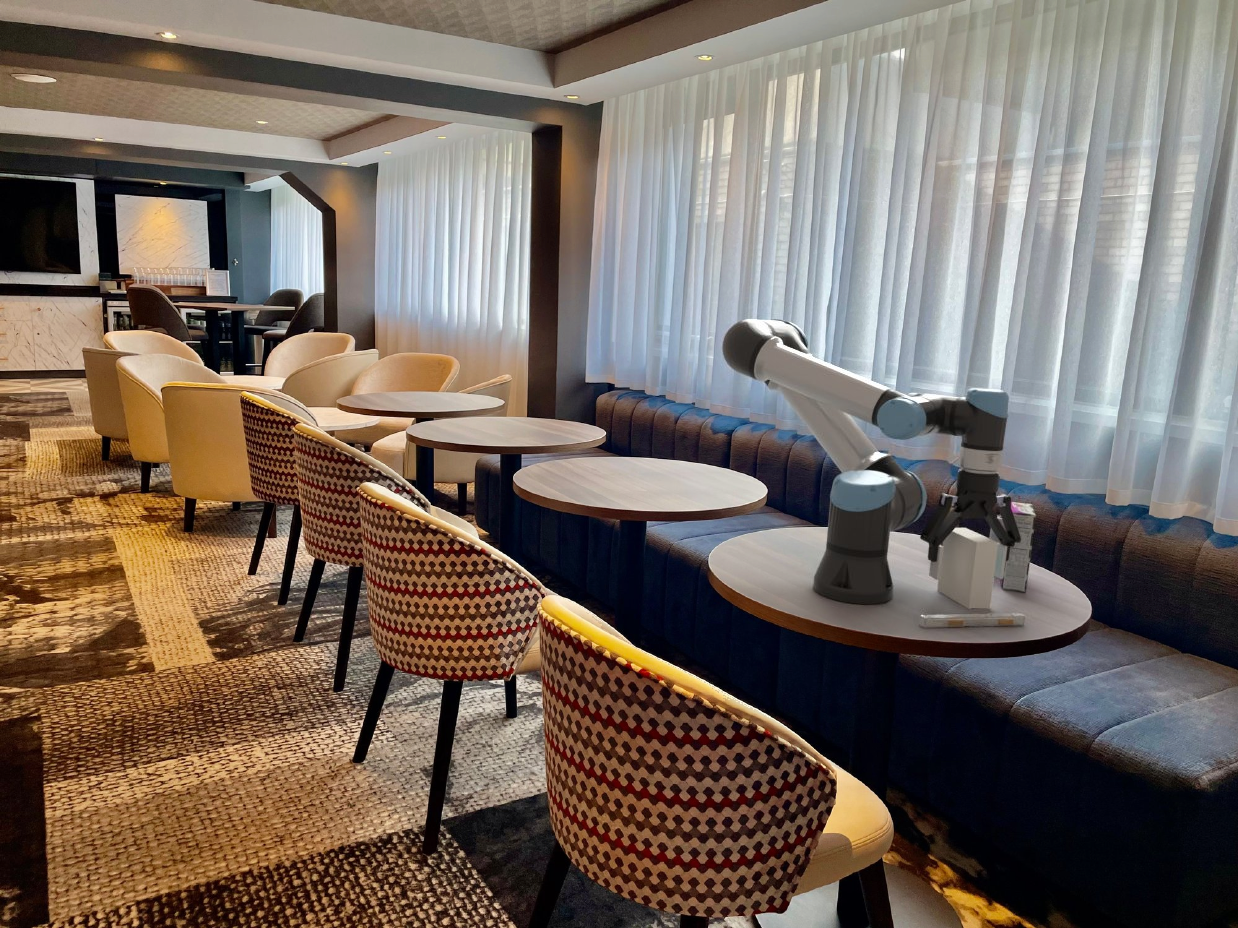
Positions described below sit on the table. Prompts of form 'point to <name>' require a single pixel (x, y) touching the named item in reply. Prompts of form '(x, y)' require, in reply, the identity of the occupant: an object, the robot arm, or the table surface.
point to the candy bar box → (1020, 549)
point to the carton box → (968, 568)
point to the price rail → (972, 620)
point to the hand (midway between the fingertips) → (966, 577)
